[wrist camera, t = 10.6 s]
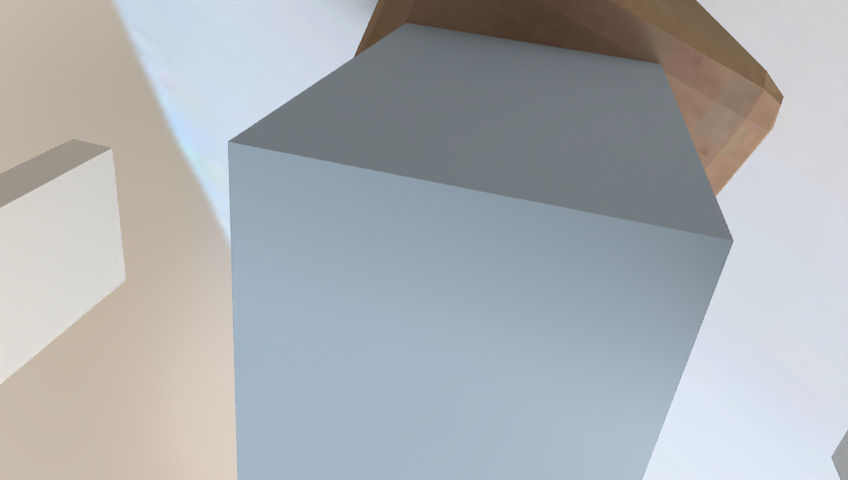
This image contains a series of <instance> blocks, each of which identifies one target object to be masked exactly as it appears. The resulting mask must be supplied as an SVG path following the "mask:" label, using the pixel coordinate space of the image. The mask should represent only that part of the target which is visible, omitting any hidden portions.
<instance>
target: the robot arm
mask: <svg viewBox="0 0 848 480" xmlns="http://www.w3.org/2000/svg"><path fill="white" fill-rule="evenodd" d="M125 280H126V277H125V266H124V257H123V247H122V238H121V228H120V219H119V209H118V200H117V191H116V181H115V171H114V162H113V152H112V148H110V147H105V146H101V145H96V144H92V143H87V142H83V141H79V140H74V139H72V140H70V141H68V142H66V143H64V144H62V145H60V146H57V147H55V148H53V149H51V150H49V151H47V152H45V153H43V154H41V155H39V156H37V157H35V158H32V159H31V160H28V161H26V162H24V163H22V164H20V165H18V166H16V167H14V168H12V169H10V170H7V171H5V172H3V173H1V174H0V384H1V383H2V382H4V381H5V380H6V379H7V378H8V377H10V376H11V375H12V374H13V373H14V372H16V371H17V370H18V369H19V368H20V367H22V366H23V365H24V364H25V363H26V362H28V361H29V360H30V359H31V358H32V357H34V356H35V355H36V354H37V353H38V352H39V351H41V350H42V349H43V348H44V347H46V346H47V345H48V344H49V343H50V342H52V341H53V340H54V339H55V338H57V337H58V336H59V335H60V334H61V333H62V332H64V331H65V330H66V329H67V328H68V327H70V326H71V325H72V324H73V323H75V322H76V321H77V320H78V319H79V318H80V317H81V316H83V315H84V314H85V313H86V312H88V311H89V310H90V309H91V308H93V307H94V306H95V305H96V304H97V303H99V302H100V301H101V300H102V299H103V298H104V297H106V296H107V295H108V294H109V293H111V292H112V291H113V290H114V289H115V288H117V287H118V286H119V285H120V284H121V283H122V282H124V281H125ZM831 458H832V460H833V462H834V465H835V467H836V470H837V472H838V474H839V477H840V479H841V480H848V431H847V432H846V434H845V436H844V437H843V439H842V440H841V442H840V444H839V445H838V447H837V449H836V450H835V452H834V454H833V455H832V457H831Z"/></svg>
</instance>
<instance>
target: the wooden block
mask: <svg viewBox="0 0 848 480" xmlns="http://www.w3.org/2000/svg"><path fill="white" fill-rule="evenodd" d="M405 23H411V24H417V25H423V26H429V27H436V28H442V29H448V30H454V31H460V32H466V33H473V34H479V35H485V36H491V37H497V38H503V39H510V40H516V41H522V42H528V43H534V44H540V45H547V46H553V47H559V48H565V49H571V50H577V51H583V52H590V53H596V54H602V55H608V56H614V57H620V58H627V59H633V60H639V61H645V62H652V63H658V64H661V65H662V68H663V70H664V73H665V75H666V77H667V80H668V82H669V85H670V87H671V90H672V92H673V94H674V97H675V99H676V102H677V104H678V107H679V109H680V112H681V114H682V116H683V119H684V121H685V124H686V126H687V129H688V131H689V134H690V136H691V138H692V141H693V143H694V146H695V148H696V151H697V153H698V156H699V158H700V160H701V163H702V165H703V168H704V170H705V173H706V175H707V178H708V180H709V182H710V185H711V187H712V190H713V192H714V195H715V197H716V196H717V194H718V193H719V192H720V191H721V190H722V188H723V187H724V186H725V185H726V184H727V182H728V181H729V180H730V179H731V178H732V176H733V175H734V174H735V173H736V172H737V170H738V169H739V168H740V167H741V166H742V164H743V163H744V162H745V161H746V160H747V158H748V157H749V156H750V155H751V154H752V152H753V151H754V150H755V149H756V148H757V146H758V145H759V144H760V143H761V142H762V140H763V139H764V138H765V137H766V136H767V134H768V133H769V132H770V131H771V130H772V128H773V127H774V124H775V121H776V118H777V115H778V111H779V108H780V106H781V103H782V99H783V95H782V94H781V92H780V91H779V89H778V88H777V86H776V85H775V83H774V82H773V80H772V79H771V77H770V76H769V74H768V73H767V71H766V70H765V69H764V68H763V67H762V66H761V65H760V64H759V63H758V62H757V61H756V60H755V59H754V58H753V57H752V56H751V55H750V54H749V53H748V52H747V51H746V50H745V49H744V48H743V47H742V46H741V45H740V44H739V43H738V42H737V41H736V40H735V39H734V38H733V37H732V36H731V35H730V34H729V33H728V32H727V31H726V30H725V29H724V28H723V27H722V26H721V25H720V24H719V23H718V22H717V21H716V20H715V19H714V18H713V17H712V16H711V15H710V14H709V13H708V12H707V11H706V10H705V9H704V8H703V7H702V6H701V5H700V4H699V3H698V2H697V1H696V0H379V1H378V3H377V5H376V7H375V10H374V12H373V14H372V17H371V19H370V21H369V24H368V26H367V28H366V31H365V33H364V35H363V37H362V40H361V42H360V44H359V47H358V49H357V51H356V54H355V56H354V57H356V56H357V55H359V54H360V53H362V52H363V51H365V50H366V49H368V48H369V47H371V46H372V45H374V44H375V43H377V42H378V41H380V40H381V39H383V38H384V37H386V36H387V35H388V34H390V33H391V32H393V31H394V30H396V29H397V28H399V27H400V26H402V25H403V24H405Z"/></svg>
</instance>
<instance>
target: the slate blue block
mask: <svg viewBox="0 0 848 480" xmlns="http://www.w3.org/2000/svg"><path fill="white" fill-rule="evenodd" d="M228 158H229V193H230V228H231V263H232V298H233V331H234V366H235V402H236V437H237V471H238V480H642V478H643V476H644V473H645V471H646V468H647V465H648V463H649V460H650V457H651V455H652V452H653V450H654V447H655V444H656V442H657V439H658V437H659V434H660V431H661V429H662V426H663V424H664V421H665V418H666V416H667V413H668V410H669V408H670V405H671V403H672V400H673V397H674V395H675V392H676V390H677V387H678V384H679V382H680V379H681V376H682V374H683V371H684V369H685V366H686V363H687V361H688V358H689V356H690V353H691V350H692V348H693V345H694V343H695V340H696V337H697V335H698V332H699V329H700V327H701V324H702V322H703V319H704V316H705V314H706V311H707V309H708V306H709V303H710V301H711V298H712V295H713V293H714V290H715V288H716V285H717V282H718V280H719V277H720V275H721V272H722V269H723V267H724V264H725V262H726V259H727V256H728V254H729V251H730V248H731V246H732V243H733V239H732V236H731V234H730V231H729V229H728V226H727V224H726V221H725V219H724V217H723V214H722V212H721V209H720V207H719V204H718V202H717V199H716V197H715V195H714V192H713V190H712V187H711V185H710V182H709V180H708V178H707V175H706V173H705V170H704V168H703V165H702V163H701V160H700V158H699V156H698V153H697V151H696V148H695V146H694V143H693V141H692V138H691V136H690V134H689V131H688V129H687V126H686V124H685V121H684V119H683V116H682V114H681V112H680V109H679V107H678V104H677V102H676V99H675V97H674V94H673V92H672V90H671V87H670V85H669V82H668V80H667V77H666V75H665V73H664V70H663V68H662V65H661V64H658V63H652V62H645V61H639V60H633V59H627V58H620V57H614V56H608V55H602V54H596V53H590V52H583V51H577V50H571V49H565V48H559V47H553V46H547V45H540V44H534V43H528V42H522V41H516V40H510V39H503V38H497V37H491V36H485V35H479V34H473V33H466V32H460V31H454V30H448V29H442V28H436V27H429V26H423V25H417V24H411V23H405V24H403V25H402V26H400V27H399V28H397V29H396V30H394V31H393V32H391V33H390V34H388V35H387V36H386V37H384V38H383V39H381V40H380V41H378V42H377V43H375V44H374V45H372V46H371V47H369V48H368V49H366V50H365V51H363V52H362V53H360V54H359V55H357V56H356V57H354V58H353V59H351V60H350V61H348V62H347V63H345V64H344V65H342V66H341V67H339V68H338V69H336V70H335V71H333V72H332V73H330V74H329V75H327V76H326V77H324V78H323V79H321V80H320V81H318V82H317V83H315V84H314V85H312V86H311V87H309V88H308V89H306V90H305V91H303V92H302V93H300V94H299V95H297V96H296V97H294V98H293V99H291V100H290V101H288V102H287V103H285V104H284V105H282V106H281V107H279V108H278V109H276V110H275V111H273V112H272V113H270V114H269V115H267V116H266V117H264V118H263V119H261V120H260V121H258V122H257V123H255V124H254V125H252V126H251V127H249V128H248V129H246V130H245V131H243V132H242V133H240V134H239V135H237V136H236V137H234V138H233V139H231V140H230V141H228Z"/></svg>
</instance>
